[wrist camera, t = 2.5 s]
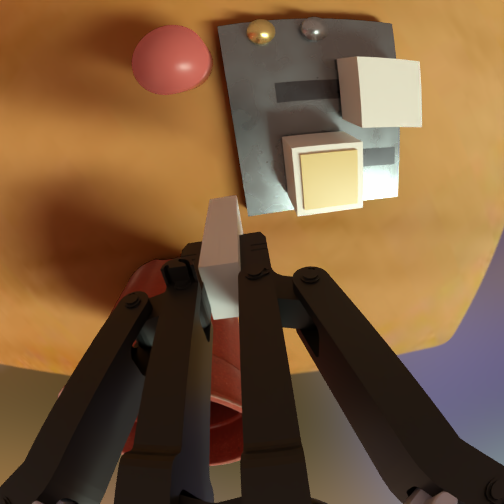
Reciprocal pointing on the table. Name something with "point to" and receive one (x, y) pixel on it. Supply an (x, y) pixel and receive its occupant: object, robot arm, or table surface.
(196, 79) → the lockout cap
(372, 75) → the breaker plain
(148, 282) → the flower pot
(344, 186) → the block
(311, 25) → the panel
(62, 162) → the table surface
